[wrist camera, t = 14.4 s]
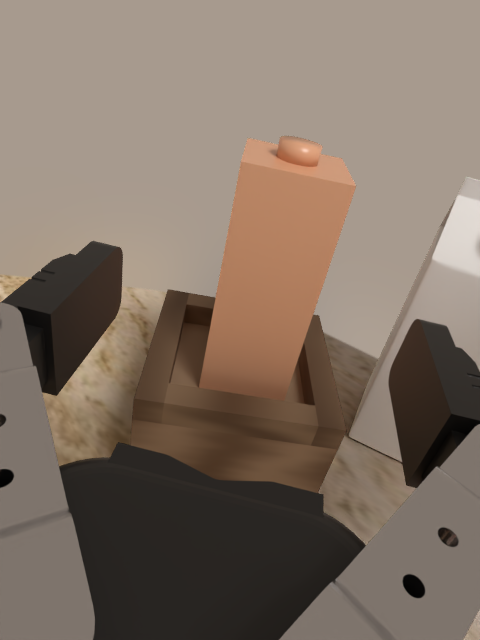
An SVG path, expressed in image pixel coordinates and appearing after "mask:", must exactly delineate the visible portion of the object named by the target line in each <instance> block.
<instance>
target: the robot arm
mask: <svg viewBox="0 0 480 640" xmlns="http://www.w3.org/2000/svg"><path fill="white" fill-rule="evenodd" d="M122 260H123V254H122V250H121V248H120V247H116V246H112V245H108V244H104V243H100V242H95V241H92V242H90V243H89V244H88V245H87V246H86V247H84V248H83V249H82V250H81V251H80V252H79V253H78V254H76V255H73V254H68V255H65V256H63V257H60V258H57V259H54V260H52V261H51V262H50V263H48V265H46V266H45V267H44V268H42V269H41V272H40V271H39V272H37V273H36V274H35V275H34V276H33V277H32V279H29V280H28V281H26V282H25V283H24V284H23V285H22V286H20V287H19V288H18V289H17V290H15V291H14V292H13V293H12V294H11V295H9V296H8V297H7V298H6V299H4V300H3V301H2V302H0V640H463V639H464V637H465V635H466V633H467V631H468V630H469V628H470V626H471V624H472V622H473V620H474V618H475V616H476V615H477V613H478V611H479V609H480V371H479V369H478V367H477V365H476V362H475V361H474V360H473V359H472V358H471V357H470V356H469V355H468V354H467V353H466V352H465V351H464V350H463V349H462V348H458V347H456V346H455V344H454V341H453V339H452V336H451V334H450V332H449V329H448V327H447V326H445V325H442V324H438V323H433V322H429V321H425V320H421V319H416V320H414V322H413V323H412V324H411V326H410V328H409V330H408V332H407V334H406V336H405V338H404V341H403V343H402V345H401V347H400V349H399V351H398V353H397V355H396V357H395V359H394V361H393V364H392V366H391V369H390V373H389V381H388V385H389V391H390V397H391V403H392V408H393V414H394V419H395V425H396V431H397V436H398V442H399V447H400V453H401V459H402V464H403V470H404V475H405V481H406V485H407V486H411V487H415V488H417V489H416V490H415V491H414V492H413V493H412V494H411V495H410V497H409V498H408V499H407V500H406V501H405V502H404V503H403V505H402V506H401V507H400V508H399V509H398V510H397V511H396V512H395V514H394V515H393V516H392V517H391V518H390V519H389V520H388V522H387V523H386V524H385V525H384V526H383V527H382V528H381V529H380V531H379V532H378V533H377V534H376V535H375V536H374V537H373V538H372V540H371V541H370V542H369V543H368V544H367V545H365V544H364V543H363V542H362V541H361V540H360V539H359V538H358V537H357V536H356V535H355V534H354V533H353V532H352V531H351V530H349V529H348V528H347V527H345V526H344V525H343V524H342V523H340V522H339V521H337V520H336V519H334V518H333V517H331V516H329V515H327V514H326V513H324V512H323V494H319V493H315V492H311V491H307V490H303V489H300V488H296V487H292V486H288V485H284V484H280V483H276V482H271V481H232V480H218V479H214V478H212V477H210V476H208V475H206V474H204V473H202V472H200V471H198V470H196V469H194V468H192V467H190V466H189V465H187V464H185V463H183V462H181V461H179V460H177V459H175V458H173V457H171V456H169V455H166V454H163V453H159V452H155V451H151V450H147V449H143V448H139V447H135V446H131V445H127V444H123V443H119V442H118V444H117V445H116V447H115V449H114V451H113V453H112V455H111V457H110V458H91V459H85V460H79V461H75V462H72V463H68V464H65V465H62V466H59V465H58V460H57V456H56V452H55V447H54V443H53V438H52V434H51V430H50V425H49V421H48V416H47V412H46V408H45V403H44V399H43V394H42V392H44V393H48V394H52V395H56V396H57V395H58V393H59V392H60V391H61V389H62V388H63V387H64V385H65V384H66V383H67V381H68V380H69V379H70V377H71V376H72V375H73V373H74V372H75V371H76V369H77V368H78V367H79V365H80V364H81V363H82V361H83V360H84V359H85V357H86V356H87V355H88V353H89V352H90V351H91V349H92V348H93V347H94V345H95V344H96V343H97V341H98V340H99V339H100V337H101V336H102V335H103V333H104V332H105V331H106V329H107V328H108V327H109V325H110V324H111V323H112V321H113V320H114V319H115V317H116V315H117V313H118V310H119V307H120V303H121V293H122V262H123V261H122Z"/></svg>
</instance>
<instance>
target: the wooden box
mask: <svg viewBox="0 0 480 640" xmlns="http://www.w3.org/2000/svg"><path fill="white" fill-rule="evenodd" d="M214 304H215V298H214V297H208V296H203V295H197V294H191V293H185V292H180V291H174V290H168V291H167V294H166V297H165V301H164V304H163V307H162V310H161V313H160V317H159V320H158V323H157V326H156V330H155V333H154V336H153V339H152V342H151V346H150V349H149V352H148V355H147V358H146V362H145V365H144V368H143V371H142V374H141V378H140V381H139V384H138V387H137V390H136V394H135V397H134V404H133V417H132V429H131V442H130V445H131V446H135V447H139V448H143V449H147V450H151V451H155V452H159V453H163V454H166V455H169V456H171V457H173V458H175V459H177V460H179V461H181V462H183V463H185V464H187V465H189V466H190V467H192V468H194V469H196V470H198V471H200V472H202V473H204V474H206V475H208V476H210V477H212V478H214V479H218V480H232V481H271V482H276V483H280V484H284V485H288V486H292V487H296V488H300V489H303V490H307V491H311V492H315V493H318V491H319V489H320V486H321V484H322V482H323V480H324V478H325V476H326V474H327V471H328V469H329V467H330V465H331V463H332V461H333V459H334V456H335V454H336V452H337V450H338V448H339V446H340V444H341V441H342V439H343V437H344V435H345V433H346V431H347V430H346V426H345V422H344V418H343V414H342V410H341V405H340V401H339V397H338V393H337V389H336V384H335V380H334V376H333V372H332V368H331V364H330V359H329V355H328V351H327V347H326V343H325V339H324V334H323V330H322V326H321V322H320V318H319V316H318V315H313V316H312V319H311V322H310V325H309V328H308V331H307V334H306V337H305V340H304V343H303V346H302V349H301V352H300V355H299V358H298V361H297V364H296V367H295V370H294V373H293V376H292V379H291V382H290V385H289V388H288V391H287V394H286V397H285V400H284V401H282V400H275V399H269V398H262V397H256V396H249V395H243V394H236V393H230V392H224V391H217V390H211V389H204V388H199V384H200V379H201V373H202V368H203V363H204V357H205V352H206V347H207V341H208V336H209V331H210V325H211V320H212V315H213V309H214Z"/></svg>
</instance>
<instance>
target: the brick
mask: <svg viewBox="0 0 480 640" xmlns="http://www.w3.org/2000/svg"><path fill="white" fill-rule="evenodd" d="M321 151H322V146H321V145H320V144H318V143H316V142H313V141H310V140H306V139H302V138H298V137H292V136H281V137H280V141H279V145H278V144H273V143H269V142H264V141H259V140H255V139H250V138H248V139H247V143H246V146H245V150H244V153H243V157H242V160H241V165H240V170H239V176H238V181H237V187H236V192H235V197H234V202H233V208H232V213H231V219H230V224H229V229H228V234H227V240H226V245H225V251H224V256H223V262H222V266H221V272H220V277H219V283H218V288H217V293H216V298H215V304H214V309H213V315H212V320H211V325H210V331H209V336H208V341H207V347H206V352H205V357H204V363H203V368H202V373H201V379H200V384H199V388H204V389H211V390H217V391H224V392H230V393H236V394H243V395H249V396H256V397H262V398H269V399H275V400H282V401H284V400H285V397H286V394H287V391H288V388H289V385H290V382H291V379H292V376H293V373H294V370H295V367H296V364H297V361H298V358H299V355H300V352H301V349H302V346H303V343H304V340H305V337H306V334H307V331H308V328H309V325H310V322H311V319H312V316H313V313H314V310H315V307H316V304H317V301H318V298H319V295H320V292H321V290H322V287H323V284H324V281H325V278H326V275H327V272H328V268H329V266H330V263H331V260H332V257H333V254H334V251H335V248H336V245H337V242H338V239H339V236H340V233H341V230H342V227H343V224H344V221H345V218H346V215H347V212H348V209H349V206H350V203H351V200H352V197H353V194H354V191H355V188H356V185H355V183H354V181H353V179H352V177H351V176H350V174H349V171H348V169H347V167H346V165H345V164H344V162H343V160H342V158H337V157H333V156H328V155H323V154H321Z"/></svg>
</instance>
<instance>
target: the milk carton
mask: <svg viewBox="0 0 480 640" xmlns="http://www.w3.org/2000/svg"><path fill="white" fill-rule="evenodd" d="M416 319H421V320H425V321H429V322H433V323H438V324H442V325H445V326H447V327H448V329H449V332H450V334H451V336H452V339H453V341H454V344H455V346H456V347H458V348H462V349H463V350H464V351H465V352H466V353H467V354H468V355H469V356H470V357H471V358H472V359H473V360H474V361H475V362H476V365H477V367H478V369H479V371H480V180H477V179H473V178H470V177H466V178H465V180H464V182H463V184H462V187H461V189H460V191H459V193H458V195H457V197H456V199H455V200H454V202H453V204H452V206H451V208H450V209H449V211H448V213H447V215H446V217H445V218H444V220H443V222H442V224H441V225H440V228H439V230H438V232H437V234H436V236H435V238H434V241H433V243H432V245H431V247H430V249H429V252H428V254H427V256H426V258H425V260H424V262H423V264H422V266H421V269H420V271H419V273H418V275H417V277H416V279H415V282H414V284H413V286H412V288H411V290H410V293H409V295H408V297H407V299H406V301H405V303H404V305H403V307H402V310H401V312H400V314H399V316H398V318H397V320H396V323H395V325H394V327H393V329H392V331H391V333H390V335H389V338H388V340H387V342H386V344H385V346H384V348H383V351H382V353H381V355H380V357H379V359H378V361H377V364H376V366H375V368H374V370H373V372H372V374H371V376H370V379H369V381H368V383H367V386H366V388H365V391H364V394H363V397H362V399H361V402H360V405H359V407H358V410H357V413H356V416H355V418H354V421H353V424H352V426H351V429H350V432H349V437H351V438H352V439H354V440H356V441H358V442H361V443H363V444H365V445H367V446H369V447H371V448H373V449H375V450H377V451H379V452H382V453H384V454H386V455H388V456H390V457H392V458H394V459H396V460H398V461H400V462H402V459H401V453H400V447H399V442H398V436H397V431H396V425H395V419H394V414H393V408H392V403H391V397H390V391H389V385H388V381H389V373H390V369H391V366H392V364H393V361H394V359H395V357H396V355H397V353H398V351H399V349H400V347H401V345H402V343H403V341H404V338H405V336H406V334H407V332H408V330H409V328H410V326H411V324H412V323H413V322H414V320H416Z"/></svg>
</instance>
